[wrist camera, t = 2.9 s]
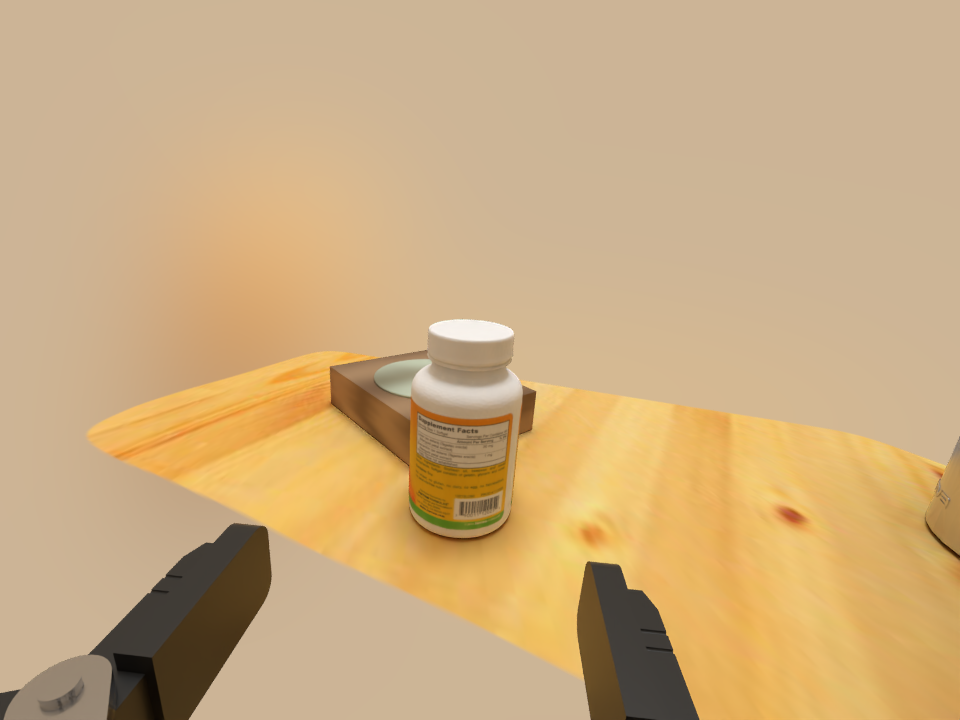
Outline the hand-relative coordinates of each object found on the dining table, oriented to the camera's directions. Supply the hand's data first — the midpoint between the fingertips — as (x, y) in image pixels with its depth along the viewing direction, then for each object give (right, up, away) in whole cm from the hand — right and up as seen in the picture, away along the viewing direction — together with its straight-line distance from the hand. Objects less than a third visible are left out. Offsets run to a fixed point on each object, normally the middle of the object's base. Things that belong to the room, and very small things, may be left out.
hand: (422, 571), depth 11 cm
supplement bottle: (0, -3, +13) cm, 13 cm away
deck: (-2, +1, +23) cm, 23 cm away
